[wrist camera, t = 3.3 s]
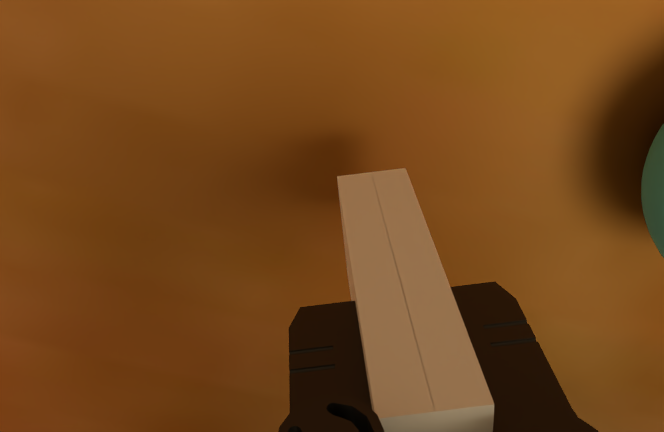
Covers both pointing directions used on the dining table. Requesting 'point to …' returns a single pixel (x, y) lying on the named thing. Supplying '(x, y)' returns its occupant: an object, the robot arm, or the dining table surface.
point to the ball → (654, 190)
